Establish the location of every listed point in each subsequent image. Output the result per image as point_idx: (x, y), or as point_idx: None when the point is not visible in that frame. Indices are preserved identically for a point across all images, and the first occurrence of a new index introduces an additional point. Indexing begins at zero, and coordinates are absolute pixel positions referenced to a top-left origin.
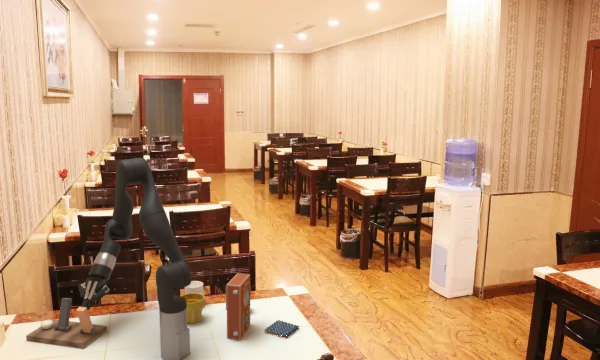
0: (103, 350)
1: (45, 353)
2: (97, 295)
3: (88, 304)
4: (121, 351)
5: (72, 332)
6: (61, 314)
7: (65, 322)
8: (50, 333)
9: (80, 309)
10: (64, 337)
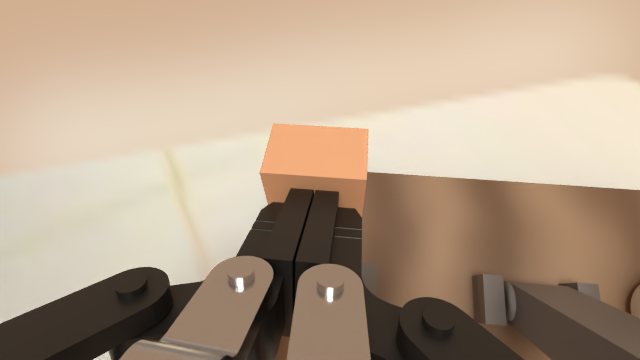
0: (190, 179)
1: (450, 109)
2: (56, 311)
3: (261, 230)
4: (100, 185)
5: (438, 280)
6: (624, 319)
7: (528, 294)
8: (568, 244)
9: (322, 143)
10: (441, 210)
